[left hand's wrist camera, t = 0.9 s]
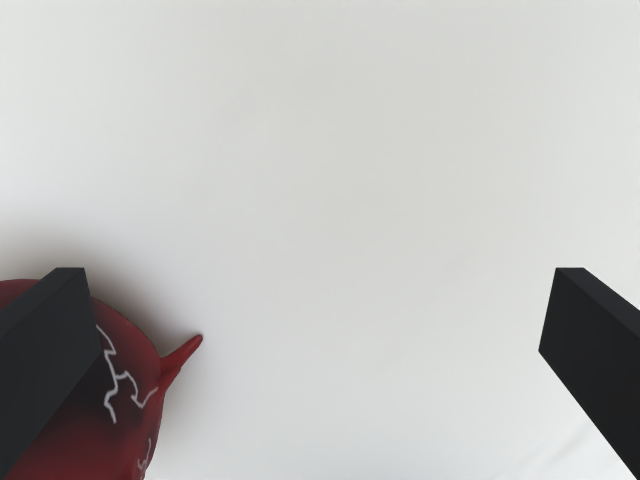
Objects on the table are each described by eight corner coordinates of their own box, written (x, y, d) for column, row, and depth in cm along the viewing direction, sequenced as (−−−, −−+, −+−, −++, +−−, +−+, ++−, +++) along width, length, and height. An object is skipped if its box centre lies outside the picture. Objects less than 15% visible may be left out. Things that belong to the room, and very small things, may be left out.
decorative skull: (29, 631, 40) (171, 592, 28) (-309, 567, 31) (-321, 465, 18) (121, 412, 57) (237, 326, 44) (-81, 325, 47) (-6, 184, 35)
